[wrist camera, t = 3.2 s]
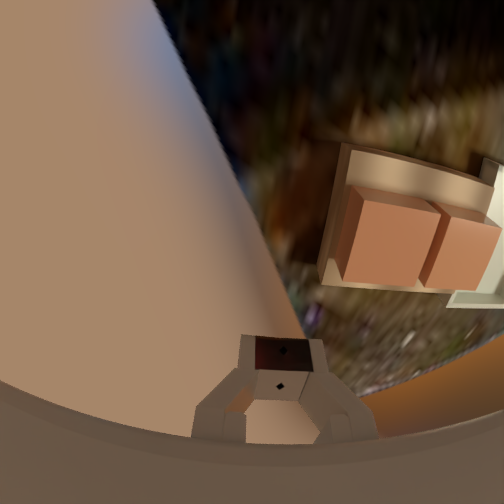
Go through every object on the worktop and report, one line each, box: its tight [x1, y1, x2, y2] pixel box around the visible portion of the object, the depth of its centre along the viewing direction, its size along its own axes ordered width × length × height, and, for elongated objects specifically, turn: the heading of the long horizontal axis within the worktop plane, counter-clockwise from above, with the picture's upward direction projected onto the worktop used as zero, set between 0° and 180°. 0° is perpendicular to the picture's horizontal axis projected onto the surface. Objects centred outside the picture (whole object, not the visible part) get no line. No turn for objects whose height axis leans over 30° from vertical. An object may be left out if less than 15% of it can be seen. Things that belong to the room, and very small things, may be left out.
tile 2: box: [418, 201, 502, 291], centre depth 21 cm, size 6×6×3 cm
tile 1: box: [334, 185, 441, 287], centre depth 20 cm, size 6×6×3 cm
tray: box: [436, 157, 504, 308], centre depth 24 cm, size 11×15×2 cm
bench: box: [316, 142, 495, 294], centre depth 23 cm, size 14×11×3 cm
